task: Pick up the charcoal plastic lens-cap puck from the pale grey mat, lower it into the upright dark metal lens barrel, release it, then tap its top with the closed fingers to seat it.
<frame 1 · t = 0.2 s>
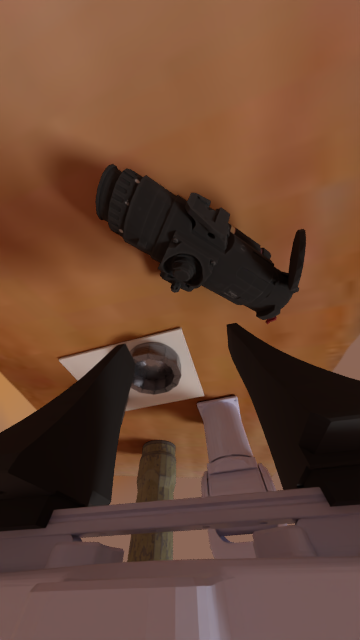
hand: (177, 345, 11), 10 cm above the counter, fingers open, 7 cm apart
mat: (138, 377, 27), on the counter
barrel: (153, 362, 25), resting on mat
night vision scope: (201, 250, 17), on the counter
thermos: (159, 446, 41), on the counter
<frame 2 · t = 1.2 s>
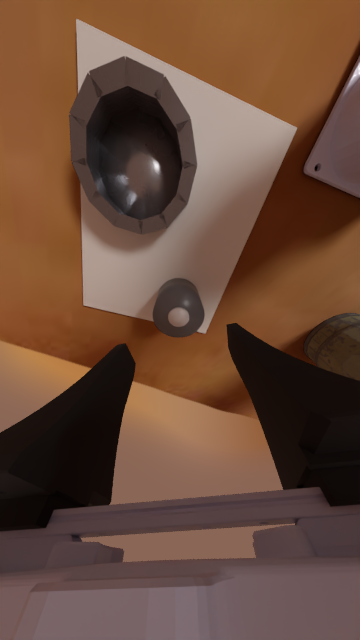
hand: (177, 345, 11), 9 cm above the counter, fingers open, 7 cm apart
mat: (166, 236, 16), on the counter
cap: (178, 298, 19), resting on mat
barrel: (142, 174, 13), resting on mat
thermos: (333, 337, 23), on the counter
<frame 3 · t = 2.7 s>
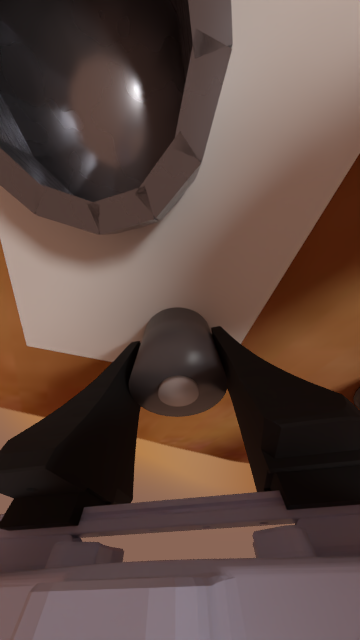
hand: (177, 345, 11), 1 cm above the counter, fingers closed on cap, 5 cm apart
mat: (156, 239, 9), on the counter
cap: (177, 337, 12), resting on mat, touching gripper
barrel: (102, 106, 6), resting on mat
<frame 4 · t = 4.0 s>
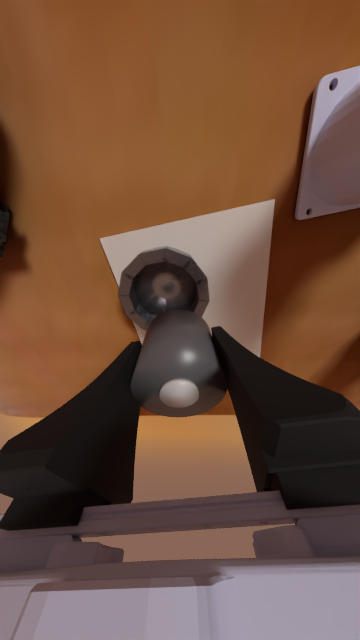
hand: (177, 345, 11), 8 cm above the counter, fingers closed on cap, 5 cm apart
mat: (197, 314, 19), on the counter
cap: (178, 338, 12), point 7 cm above the counter, touching gripper
barrel: (166, 289, 17), resting on mat
when the fingers open (3 cm above the counter, at t = 5.8 s): cap drops 1 cm, resting on barrel.
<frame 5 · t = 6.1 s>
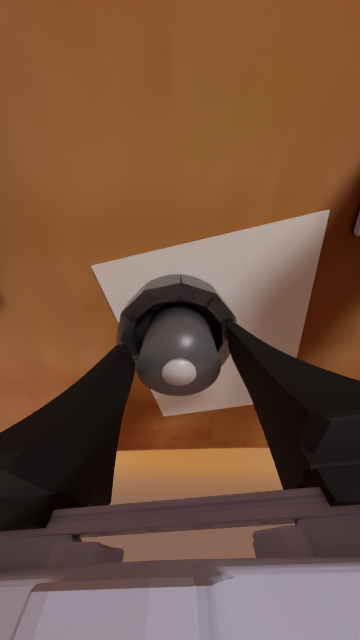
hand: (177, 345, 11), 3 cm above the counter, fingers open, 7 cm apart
mat: (215, 348, 16), on the counter
cap: (178, 328, 13), point 1 cm above the counter, touching barrel
barrel: (177, 323, 14), resting on mat
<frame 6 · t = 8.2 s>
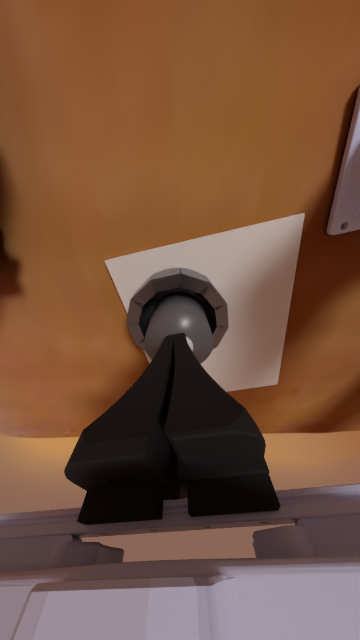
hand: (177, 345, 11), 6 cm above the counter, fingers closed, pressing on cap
mat: (211, 335, 18), on the counter
cap: (178, 315, 15), point 1 cm above the counter, touching barrel, gripper
barrel: (177, 311, 16), resting on mat
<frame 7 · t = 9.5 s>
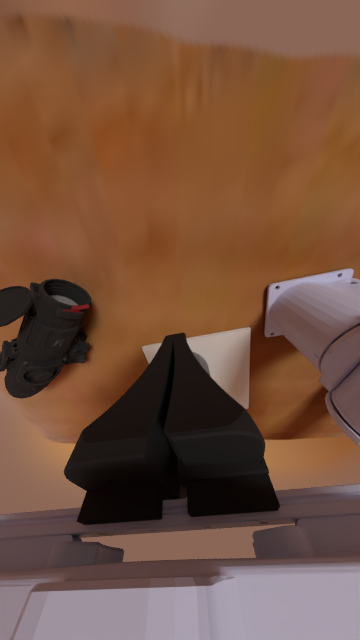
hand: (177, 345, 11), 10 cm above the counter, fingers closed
mat: (203, 380, 28), on the counter
night vision scope: (65, 326, 22), on the counter
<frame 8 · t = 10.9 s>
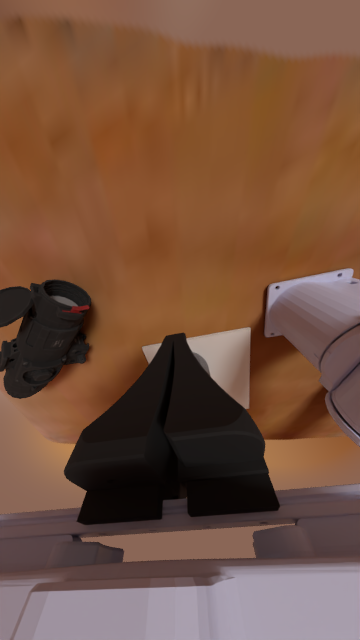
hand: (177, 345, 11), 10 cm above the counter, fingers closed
mat: (203, 381, 28), on the counter
night vision scope: (65, 326, 22), on the counter
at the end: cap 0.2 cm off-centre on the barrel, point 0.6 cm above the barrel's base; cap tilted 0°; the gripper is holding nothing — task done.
